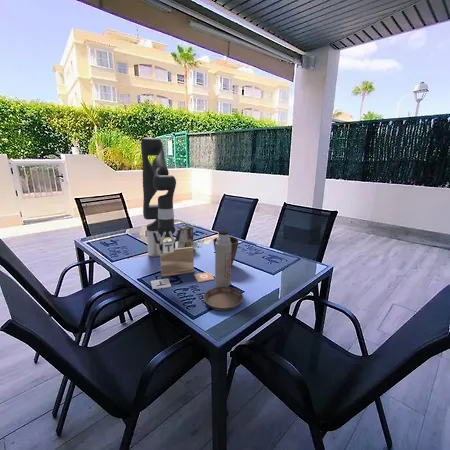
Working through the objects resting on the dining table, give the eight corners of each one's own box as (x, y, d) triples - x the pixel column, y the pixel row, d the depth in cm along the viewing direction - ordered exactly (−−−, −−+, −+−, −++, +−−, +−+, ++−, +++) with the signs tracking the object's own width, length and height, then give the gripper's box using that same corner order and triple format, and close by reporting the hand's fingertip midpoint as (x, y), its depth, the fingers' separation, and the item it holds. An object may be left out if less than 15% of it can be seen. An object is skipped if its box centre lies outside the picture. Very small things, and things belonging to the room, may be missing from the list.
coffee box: (186, 247, 186) (186, 225, 182) (193, 248, 183) (193, 226, 179) (177, 250, 179) (177, 228, 175) (184, 252, 176) (184, 229, 171)
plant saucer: (218, 318, 106) (218, 312, 105) (196, 299, 119) (196, 293, 119) (250, 305, 116) (251, 298, 115) (227, 288, 130) (227, 283, 129)
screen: (160, 272, 145) (159, 249, 141) (192, 268, 151) (191, 245, 148) (162, 276, 140) (160, 252, 137) (194, 271, 147) (194, 248, 143)
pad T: (150, 281, 134) (150, 280, 134) (168, 279, 138) (168, 278, 137) (152, 290, 126) (152, 288, 126) (171, 286, 130) (171, 285, 129)
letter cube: (161, 250, 131) (161, 240, 130) (171, 248, 133) (171, 239, 132) (163, 253, 127) (163, 243, 125) (173, 252, 129) (173, 242, 127)
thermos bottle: (233, 284, 133) (235, 232, 126) (220, 288, 129) (221, 235, 121) (224, 278, 139) (225, 228, 132) (212, 282, 135) (212, 231, 128)
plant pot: (229, 272, 147) (230, 246, 142) (208, 266, 154) (208, 241, 150) (242, 263, 159) (243, 239, 155) (221, 258, 166) (221, 234, 162)
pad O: (193, 275, 143) (193, 274, 143) (209, 272, 146) (209, 271, 146) (198, 282, 135) (198, 281, 135) (214, 279, 138) (214, 278, 138)
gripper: (178, 214, 132) (179, 246, 136) (149, 216, 126) (151, 249, 130) (182, 217, 125) (183, 250, 129) (152, 220, 120) (154, 254, 124)
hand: (167, 250), depth 130 cm, fingers closed on letter cube, 5 cm apart
